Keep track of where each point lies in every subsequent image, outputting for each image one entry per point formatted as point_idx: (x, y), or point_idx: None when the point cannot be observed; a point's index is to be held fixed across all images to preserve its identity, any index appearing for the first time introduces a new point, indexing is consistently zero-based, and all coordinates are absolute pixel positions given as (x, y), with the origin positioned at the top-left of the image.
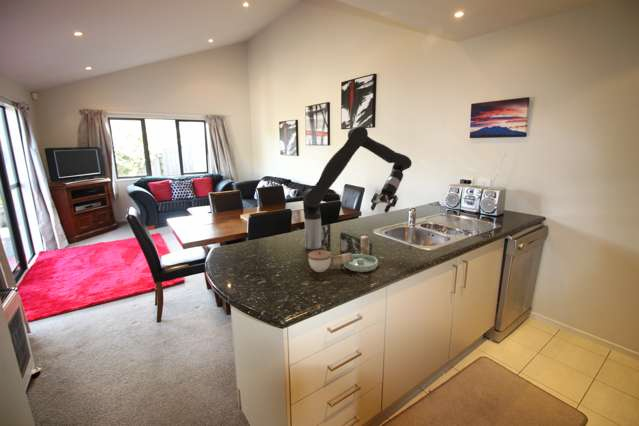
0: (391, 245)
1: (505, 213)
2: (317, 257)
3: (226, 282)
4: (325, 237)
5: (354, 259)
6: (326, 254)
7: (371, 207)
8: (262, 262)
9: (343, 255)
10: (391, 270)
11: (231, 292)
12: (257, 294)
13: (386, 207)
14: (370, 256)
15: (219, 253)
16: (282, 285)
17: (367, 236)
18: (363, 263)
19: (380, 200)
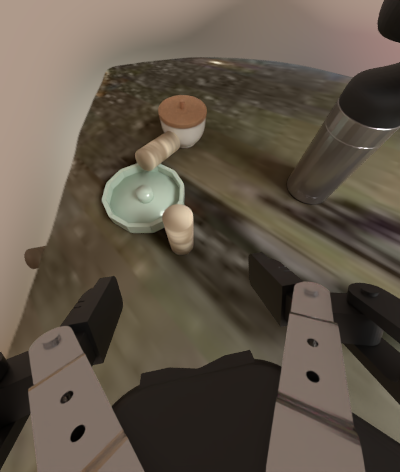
0: None
1: None
2: (169, 99)
3: (226, 62)
4: (380, 254)
5: (171, 200)
6: (169, 113)
7: (262, 254)
8: (268, 100)
9: (151, 142)
10: (72, 226)
11: (197, 60)
12: (173, 70)
13: (90, 298)
14: (142, 223)
15: (341, 78)
16: (173, 90)
17: (177, 227)
18: (138, 199)
19: (246, 354)
